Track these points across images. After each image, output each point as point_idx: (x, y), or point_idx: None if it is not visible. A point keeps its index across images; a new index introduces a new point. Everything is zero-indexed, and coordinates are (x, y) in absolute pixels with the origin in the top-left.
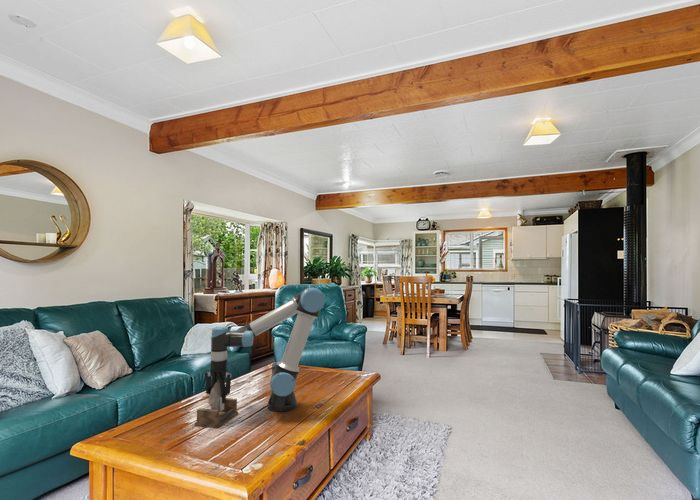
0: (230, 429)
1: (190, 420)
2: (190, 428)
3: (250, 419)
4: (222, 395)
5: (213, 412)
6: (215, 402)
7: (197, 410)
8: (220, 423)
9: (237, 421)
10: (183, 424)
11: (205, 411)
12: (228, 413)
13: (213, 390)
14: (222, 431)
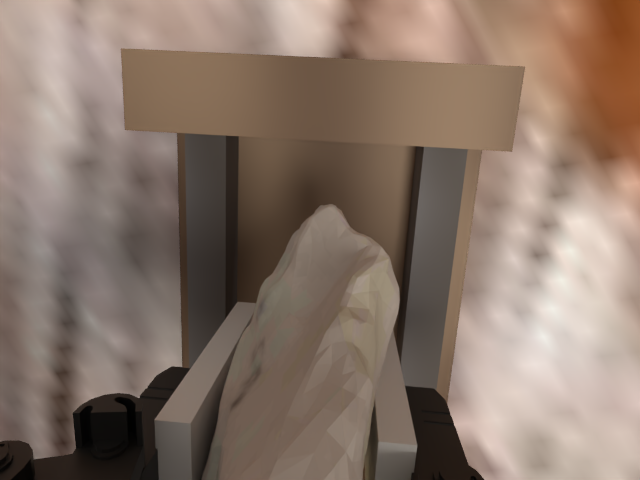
0: (48, 76)
1: (603, 236)
2: (489, 14)
3: (13, 347)
4: (108, 441)
5: (188, 53)
6: (262, 294)
7: (507, 66)
8: (183, 136)
9: (101, 284)
10: (631, 112)
11: (342, 59)
12: (189, 340)
13: (269, 471)
14: (95, 7)
